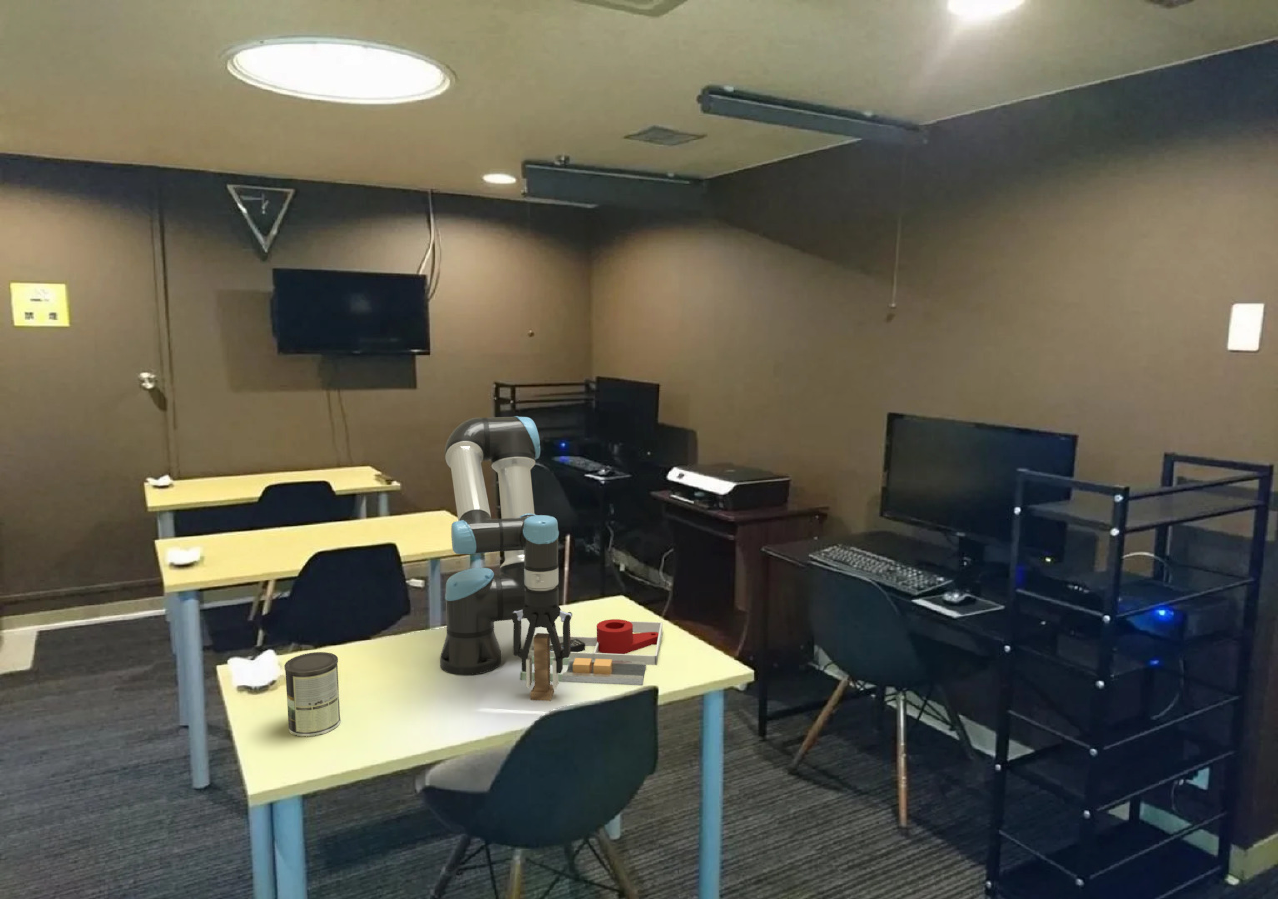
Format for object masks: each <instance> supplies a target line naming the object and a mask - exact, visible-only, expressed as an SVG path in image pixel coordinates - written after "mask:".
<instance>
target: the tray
mask: <svg viewBox="0 0 1278 899" xmlns="http://www.w3.org/2000/svg"><path fill="white" fill-rule="evenodd" d="M553 659H554V657H550V666H551V665H552V666H553ZM569 659H570V658H563V666H568V661H569ZM533 664H534V656H532V665H533ZM519 675H520V681H526V672H523V671H522V670H521V671H520V674H519ZM562 675H563V673H558V682H559V683H560V682H562ZM532 681H534V671H532ZM550 682H553V672H550Z"/></svg>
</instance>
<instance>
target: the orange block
mask: <svg viewBox="0 0 1278 899" xmlns="http://www.w3.org/2000/svg"><path fill="white" fill-rule="evenodd" d="M611 673H612V659H596V660H595V663H594V665H593V674H611Z"/></svg>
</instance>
